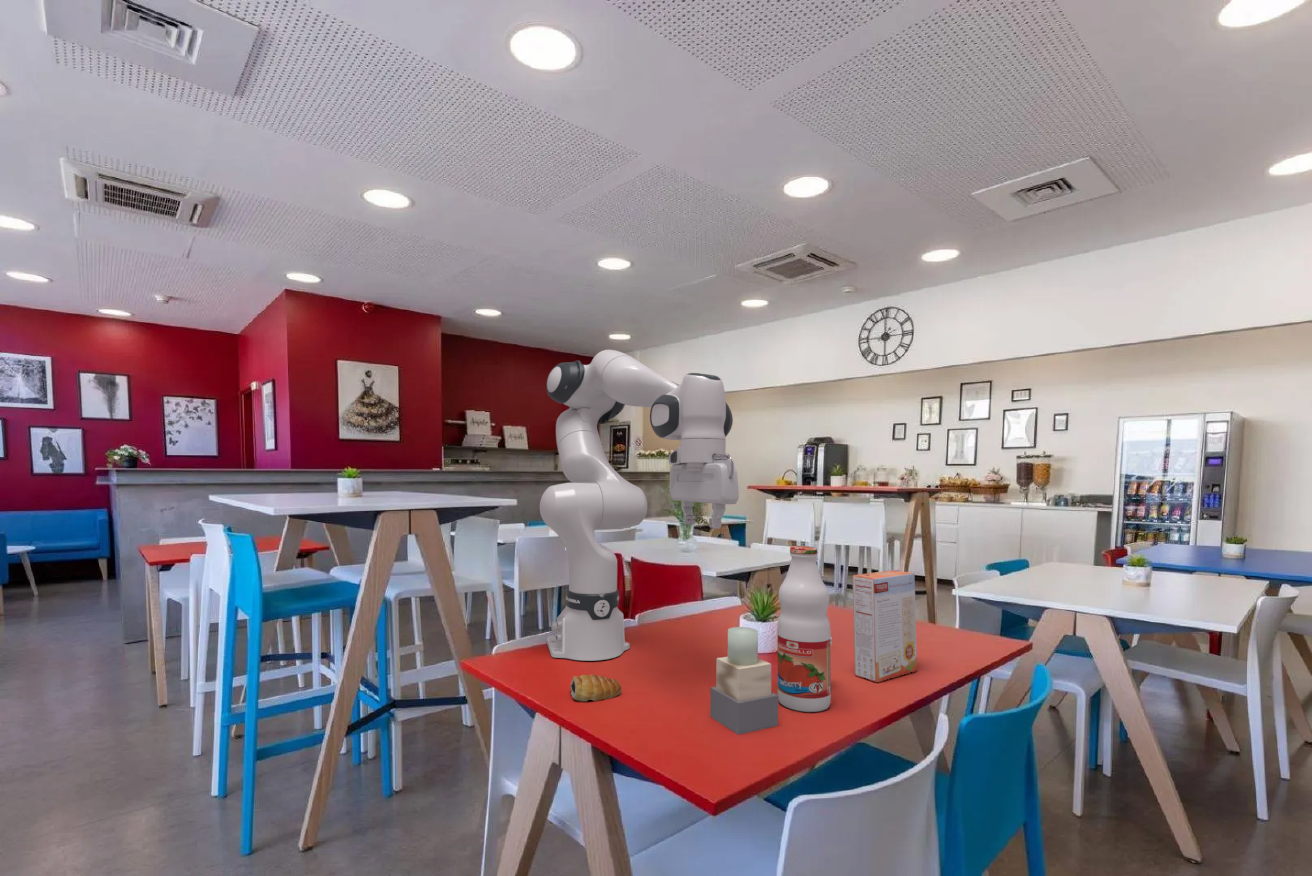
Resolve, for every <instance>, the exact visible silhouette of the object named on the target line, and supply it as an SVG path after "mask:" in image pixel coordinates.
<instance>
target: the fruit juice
mask: <svg viewBox="0 0 1312 876" xmlns="http://www.w3.org/2000/svg"><path fill="white" fill-rule="evenodd" d="M789 553H790V554H789V555H790V557H791V561H790V564H789V567H788V570H787V573H786V575H785V578H784V579H783V581H782V583H781V585H780V587H779V589H778V598H777V599H778V602H779V606H780V614H779V616H778V620H777V629H776V630H777V633H776V634H777V688H776V689H777V694H776V695H778V703H779V704H780V705H782V706H783V707H784V708H788V709H789V710H793V711H798V712H802V713H803V712H806V713H816V712H822V711H826V710H828V708H829V707H830V705H831V702H832V701H831V700H832V691H831V689H832V685H831V684H832V677H831V676H832V673H831V669H832V668H831V667H832V666H831V656H832V655H831V649H832V648H831V646H832V644H831V643H830V641H831V637H832V636H831V635H832V634H831V623H830V619H829V617H828V610H829V609H828V608H829V606H830V601H831V600H830V593H829V592H830V591H829V590H828V588H827V586H826V585H825V583H824V581H823V579H822V576H821V573H820V570H819V568H818V564H817V557H818V548H817V547H815V546H810V545H809V546H808V545H792V546H790V547H789Z"/></svg>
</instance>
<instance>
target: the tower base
mask: <svg viewBox="0 0 1312 876" xmlns="http://www.w3.org/2000/svg"><path fill="white" fill-rule="evenodd" d="M709 713H710V716H709V717H711V718H712V719H713V720H715V721H716V722H718V723H719V724H721V725H723V726H724V727H725V728H727V729H728V730H730V731H732V732H733V733H735V734H736V735H743V734H748V733H751V732H757V731H761V730H765V729H770V728H774V727H778V726H779V700H778V694H776V693H774V692H772V691H771V695H768V696H763V697H758V698H753V699H748V700H743V701H738V700H736V699H734V698H732V697H730V696H729V695H727V694H725V693H723V692H722V691H720V690H718V689H716V686H712V687H710V711H709Z"/></svg>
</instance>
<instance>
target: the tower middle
mask: <svg viewBox="0 0 1312 876" xmlns="http://www.w3.org/2000/svg"><path fill="white" fill-rule="evenodd" d="M715 666H716V670H715V671H716V680H715V681H716V684H715V687H716V689H718V690H720V691H722V692H723V693H725V694H727V695H729V696H730V697H732V698H734V699H736V700H738V701H743V700H748V699H753V698H758V697H763V696H768V695H771V692H772V664H771V663H770V662H768V661H765V660H763V659H761V658H759V657H758V663H757V664H754V665H748V666H743V665H735V664H732V663H730V662H728V656H723V657H717V658H716V664H715Z"/></svg>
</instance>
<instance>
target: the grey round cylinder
mask: <svg viewBox="0 0 1312 876" xmlns="http://www.w3.org/2000/svg"><path fill="white" fill-rule="evenodd" d="M758 631H759V630H757V629H756V628H752V627H746V626H733V627H730V628H728V629H727V657H728V662H730V663H732V664H735V665H743V666H748V665H754V664H757V663H758V658H759V655H758V654H759V650H758V648H759V647H758V646H759V641H758V640H759V633H758Z"/></svg>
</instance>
